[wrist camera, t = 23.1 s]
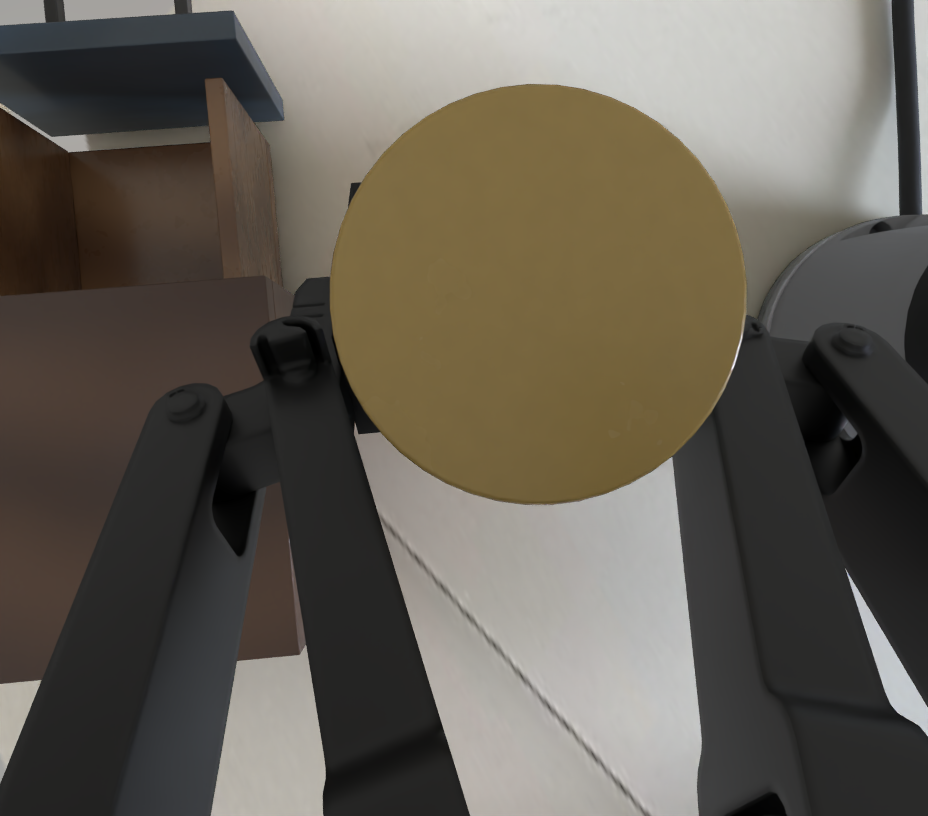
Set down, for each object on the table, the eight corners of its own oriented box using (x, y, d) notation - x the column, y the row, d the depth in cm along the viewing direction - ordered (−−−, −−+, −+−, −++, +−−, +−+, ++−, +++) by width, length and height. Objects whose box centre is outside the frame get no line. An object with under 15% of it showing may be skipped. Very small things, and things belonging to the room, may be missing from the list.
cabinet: (71, 329, 31) (-80, 301, 22) (316, 309, 31) (264, 274, 22) (98, 606, 31) (-40, 688, 22) (341, 583, 32) (299, 655, 23)
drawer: (38, 10, 30) (-86, -108, 23) (273, -5, 30) (220, -126, 23) (75, 383, 30) (-36, 379, 23) (306, 364, 30) (265, 354, 23)
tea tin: (447, 254, 19) (446, 5, 7) (587, 325, 19) (820, 202, 7) (376, 395, 19) (254, 390, 7) (517, 465, 19) (633, 577, 7)
